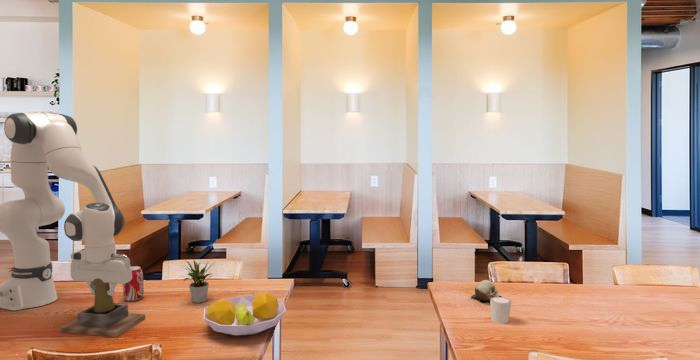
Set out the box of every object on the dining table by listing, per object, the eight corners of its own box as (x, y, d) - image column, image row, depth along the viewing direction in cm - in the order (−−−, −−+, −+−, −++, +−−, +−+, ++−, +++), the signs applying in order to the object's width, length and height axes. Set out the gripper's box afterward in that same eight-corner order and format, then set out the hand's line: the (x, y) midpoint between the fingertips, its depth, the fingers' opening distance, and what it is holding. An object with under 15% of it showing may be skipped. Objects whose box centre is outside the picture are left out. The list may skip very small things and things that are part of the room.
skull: (487, 289, 190) (500, 275, 183) (499, 312, 183) (513, 299, 176) (463, 292, 185) (475, 278, 178) (474, 316, 179) (488, 303, 172)
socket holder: (60, 332, 150) (58, 315, 150) (93, 314, 165) (92, 299, 164) (115, 337, 147) (115, 320, 146) (145, 318, 161) (144, 303, 161)
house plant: (167, 303, 175) (166, 260, 174) (193, 292, 188) (191, 251, 186) (198, 309, 170) (197, 265, 168) (222, 297, 183) (221, 255, 181)
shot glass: (500, 325, 157) (500, 304, 156) (485, 318, 163) (485, 298, 162) (515, 321, 160) (515, 301, 159) (499, 314, 166) (500, 295, 165)
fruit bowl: (216, 311, 168) (215, 280, 167) (292, 312, 168) (292, 281, 166) (187, 346, 141) (186, 310, 139) (278, 348, 140) (277, 311, 139)
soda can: (136, 302, 176) (134, 271, 175) (119, 301, 178) (117, 270, 176) (147, 296, 183) (146, 266, 182) (131, 294, 185) (130, 265, 183)
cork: (118, 306, 157) (116, 274, 156) (102, 313, 151) (99, 279, 150) (106, 304, 159) (103, 272, 158) (89, 310, 154) (86, 277, 153)
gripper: (135, 252, 155) (137, 293, 156) (80, 249, 158) (82, 289, 160) (122, 257, 148) (124, 300, 150) (65, 254, 152) (68, 295, 154)
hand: (102, 294), depth 155 cm, fingers closed on cork, 4 cm apart
